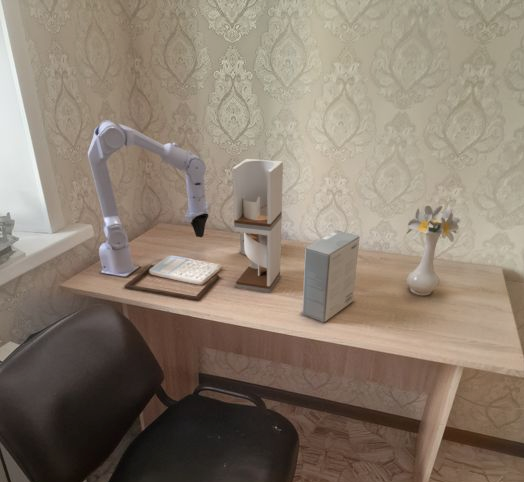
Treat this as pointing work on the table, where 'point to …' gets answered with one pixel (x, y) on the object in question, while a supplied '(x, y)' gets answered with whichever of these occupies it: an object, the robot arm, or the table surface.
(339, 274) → the hard drive box
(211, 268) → the calculator
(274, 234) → the white shelf tower
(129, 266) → the robot arm
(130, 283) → the tray
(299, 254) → the table surface
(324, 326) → the table surface
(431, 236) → the flower vase
